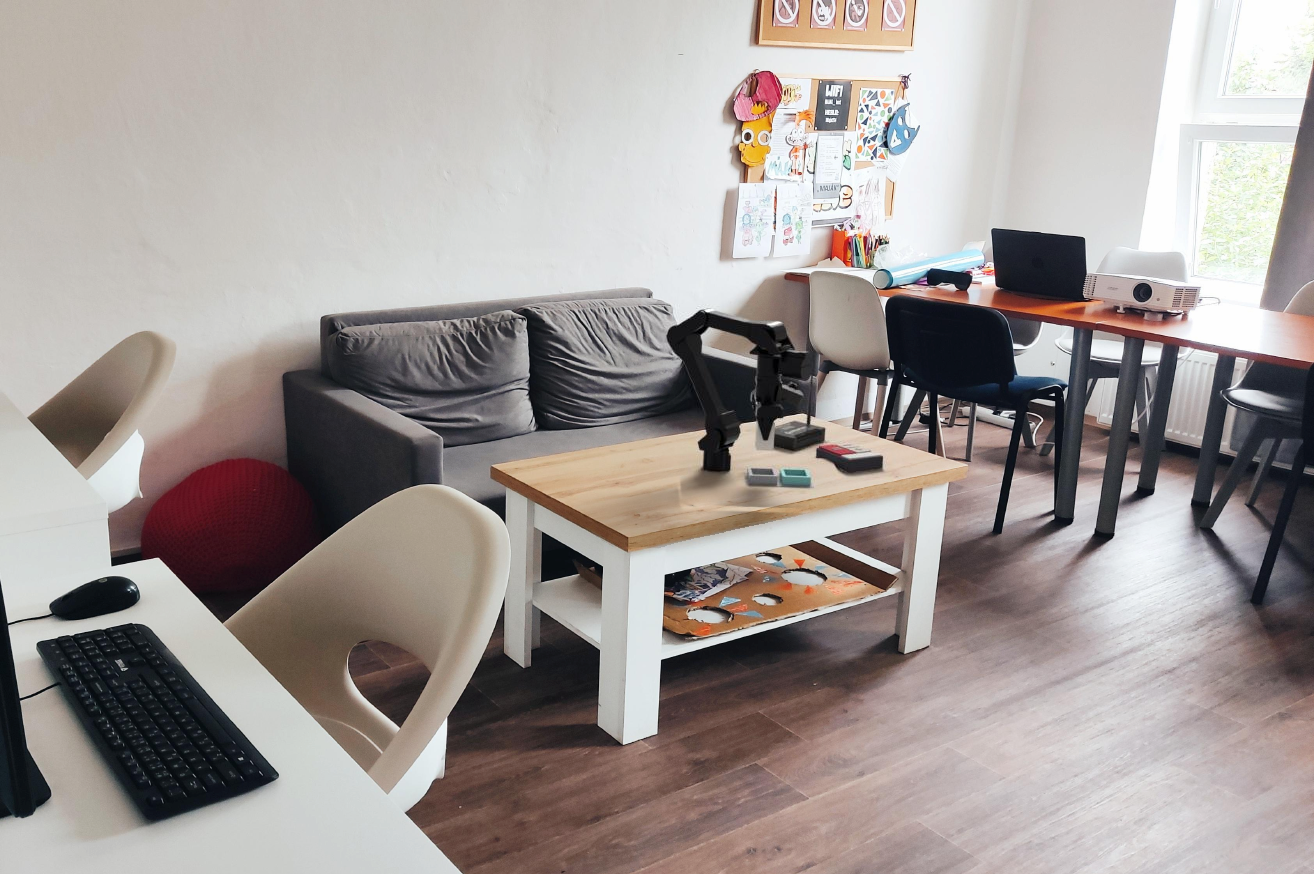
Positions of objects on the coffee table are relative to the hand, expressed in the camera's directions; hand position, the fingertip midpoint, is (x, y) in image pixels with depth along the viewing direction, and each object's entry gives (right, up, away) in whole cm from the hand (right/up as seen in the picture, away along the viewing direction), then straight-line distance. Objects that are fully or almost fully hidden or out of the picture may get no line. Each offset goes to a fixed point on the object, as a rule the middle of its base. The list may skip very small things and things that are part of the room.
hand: (764, 438), depth 263 cm
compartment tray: (+4, -11, +3) cm, 12 cm away
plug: (0, -2, +1) cm, 2 cm away
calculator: (+24, -7, +23) cm, 34 cm away
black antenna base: (+13, -1, +42) cm, 44 cm away
